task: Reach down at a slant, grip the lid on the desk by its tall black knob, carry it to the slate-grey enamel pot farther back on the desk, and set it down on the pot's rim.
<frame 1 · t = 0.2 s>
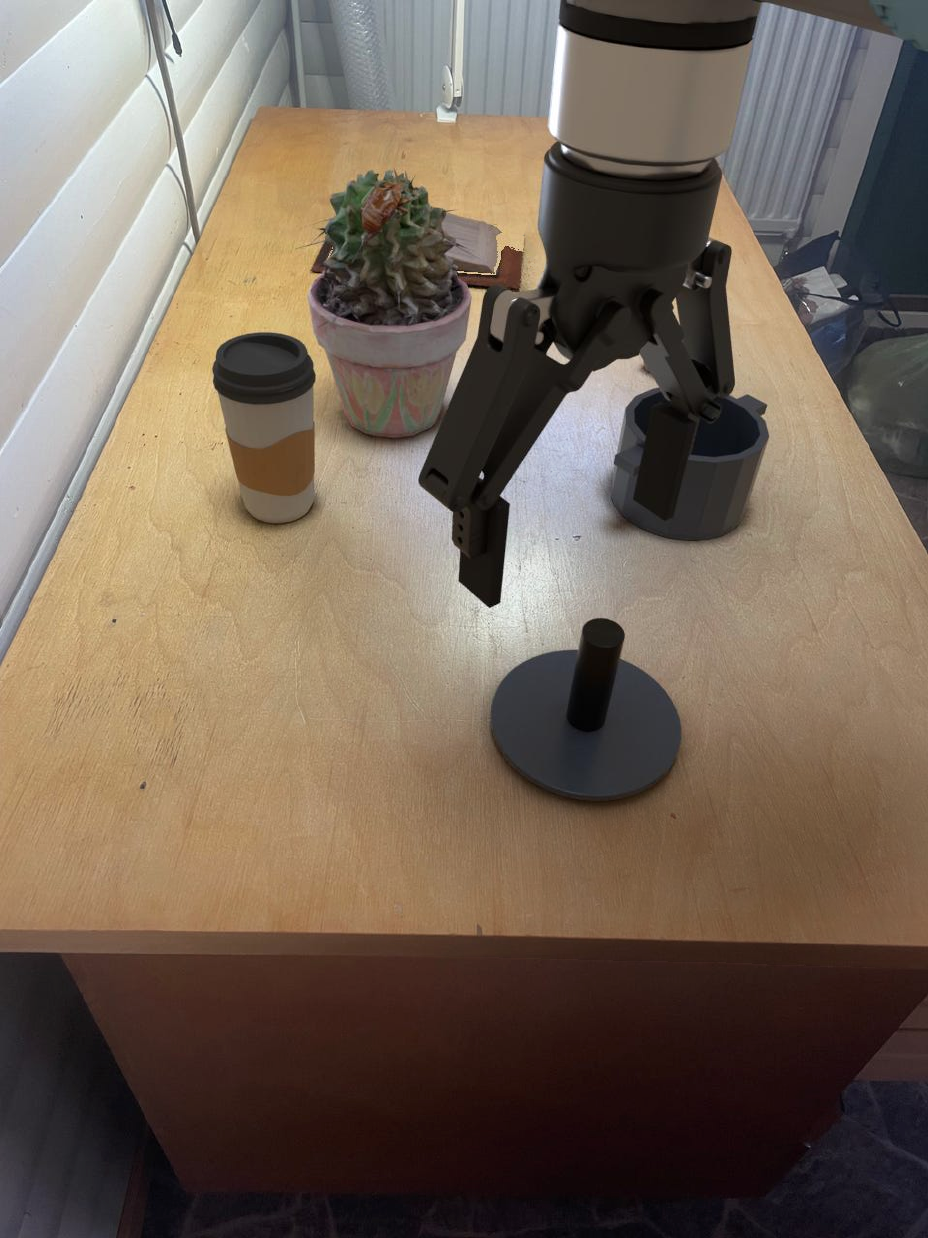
hand: (571, 548, 53), 18 cm above the table, tool pointing down, fingers open, 13 cm apart
potted plant: (389, 410, 97), on the table
pot: (676, 499, 87), on the table
lid: (584, 722, 66), point 1 cm above the table
coffee cup: (279, 505, 84), on the table
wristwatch: (664, 377, 105), on the table
book: (422, 255, 127), on the table
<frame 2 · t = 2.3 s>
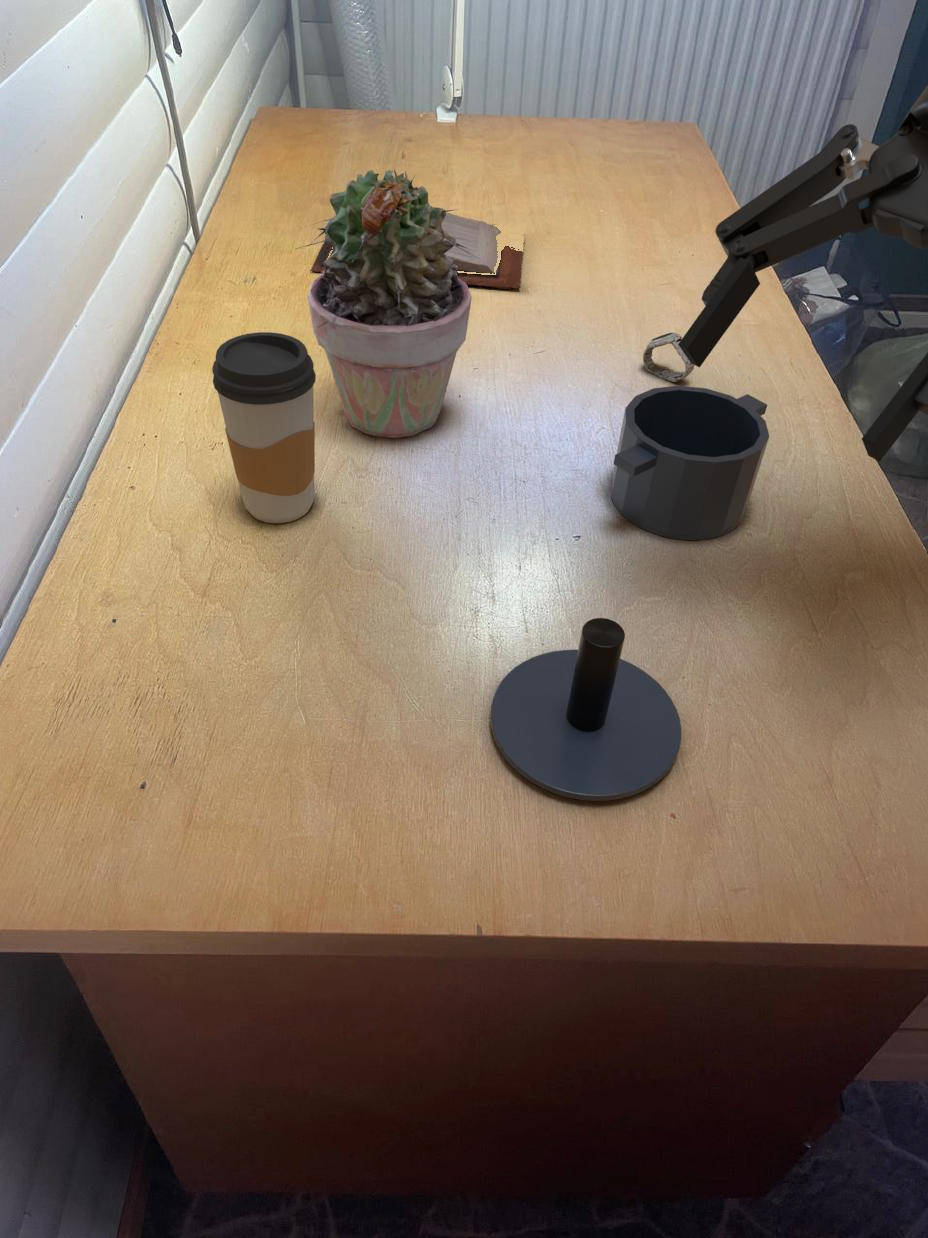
hand: (773, 400, 56), 23 cm above the table, tool tilted 45°, fingers open, 13 cm apart
nothing on the table moved.
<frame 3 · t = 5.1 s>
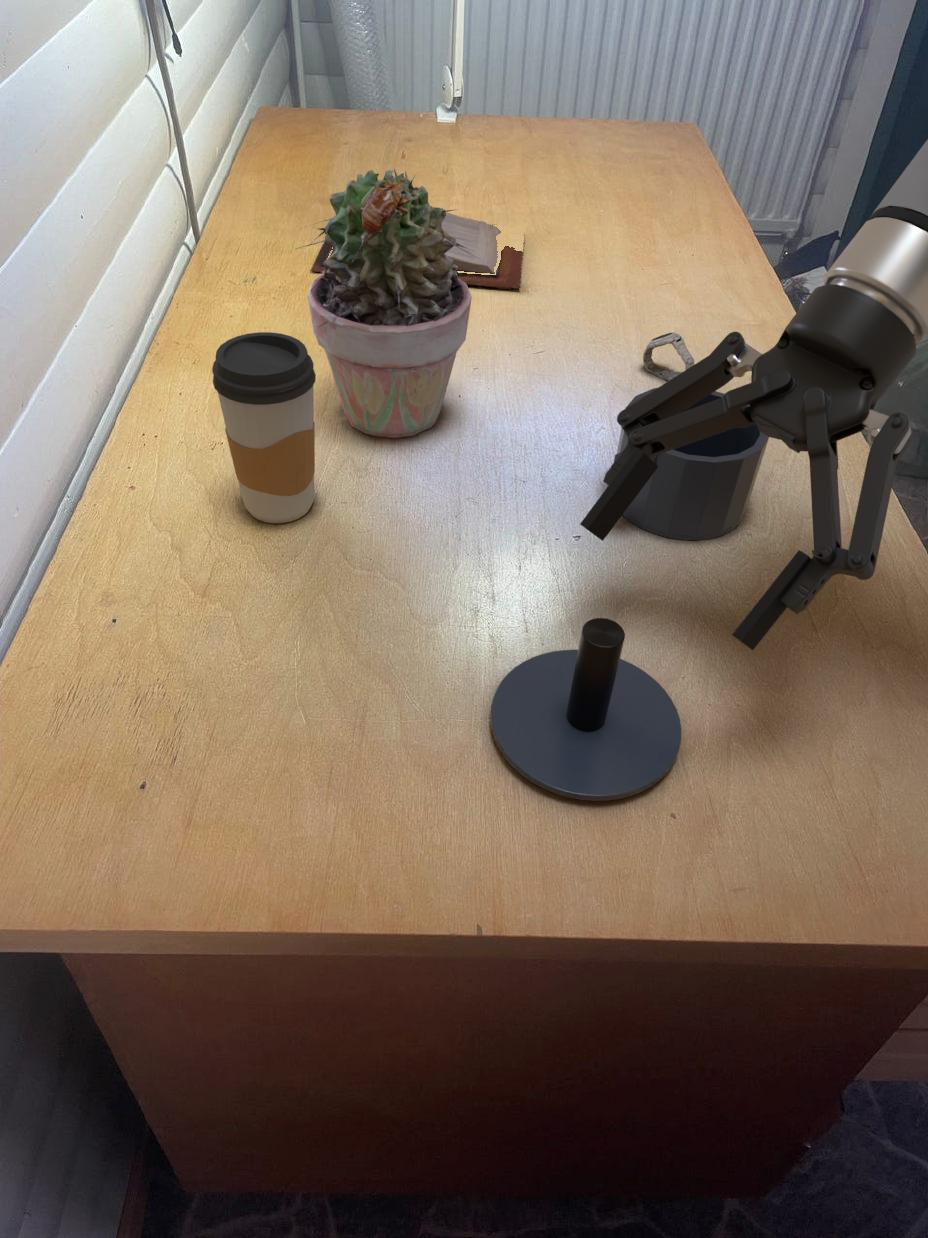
hand: (661, 585, 61), 11 cm above the table, tool tilted 45°, fingers open, 13 cm apart
nothing on the table moved.
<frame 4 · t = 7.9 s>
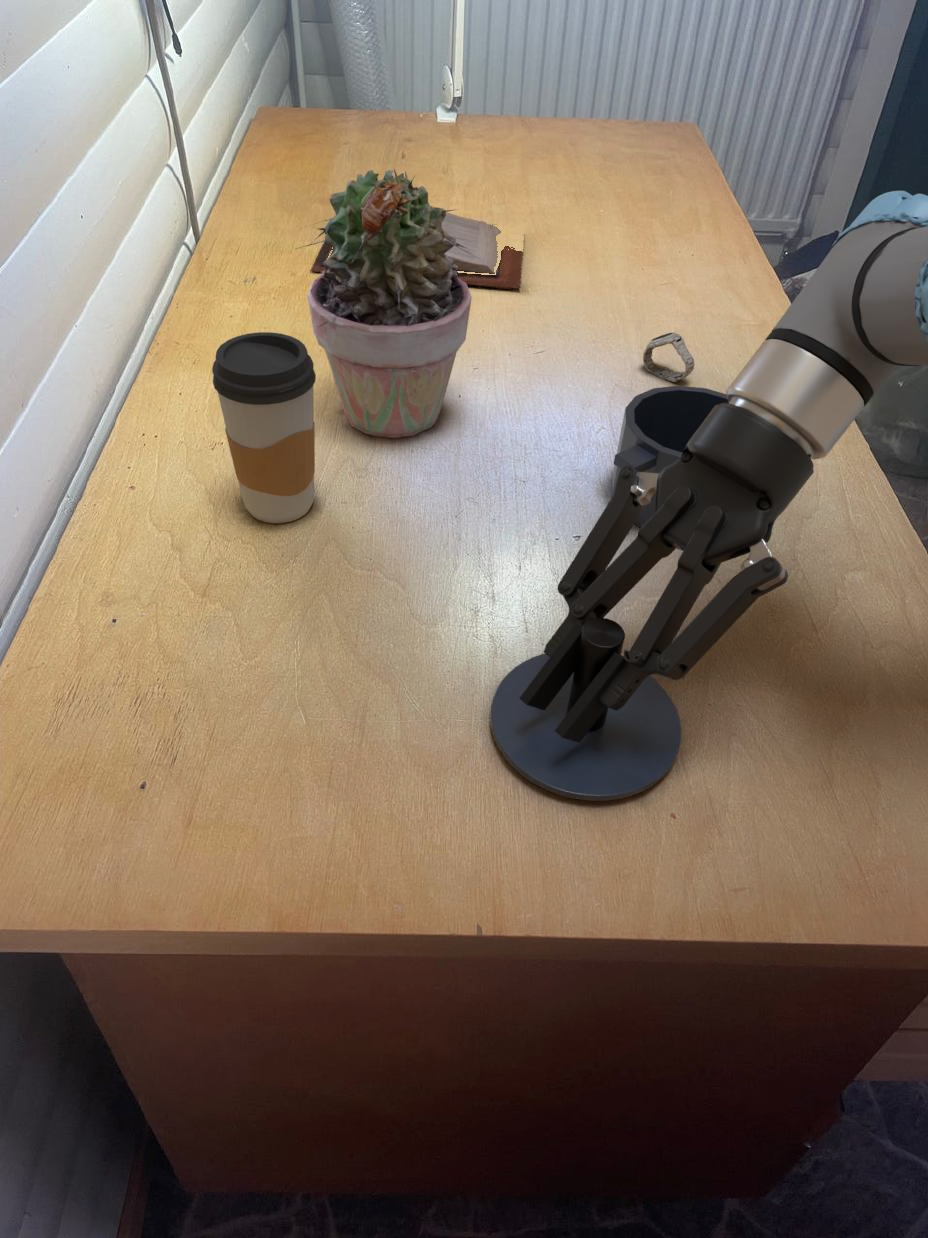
hand: (549, 719, 62), 4 cm above the table, tool tilted 45°, fingers closed on lid, 3 cm apart
lid: (584, 722, 66), point 1 cm above the table, touching gripper
everything else where it was.
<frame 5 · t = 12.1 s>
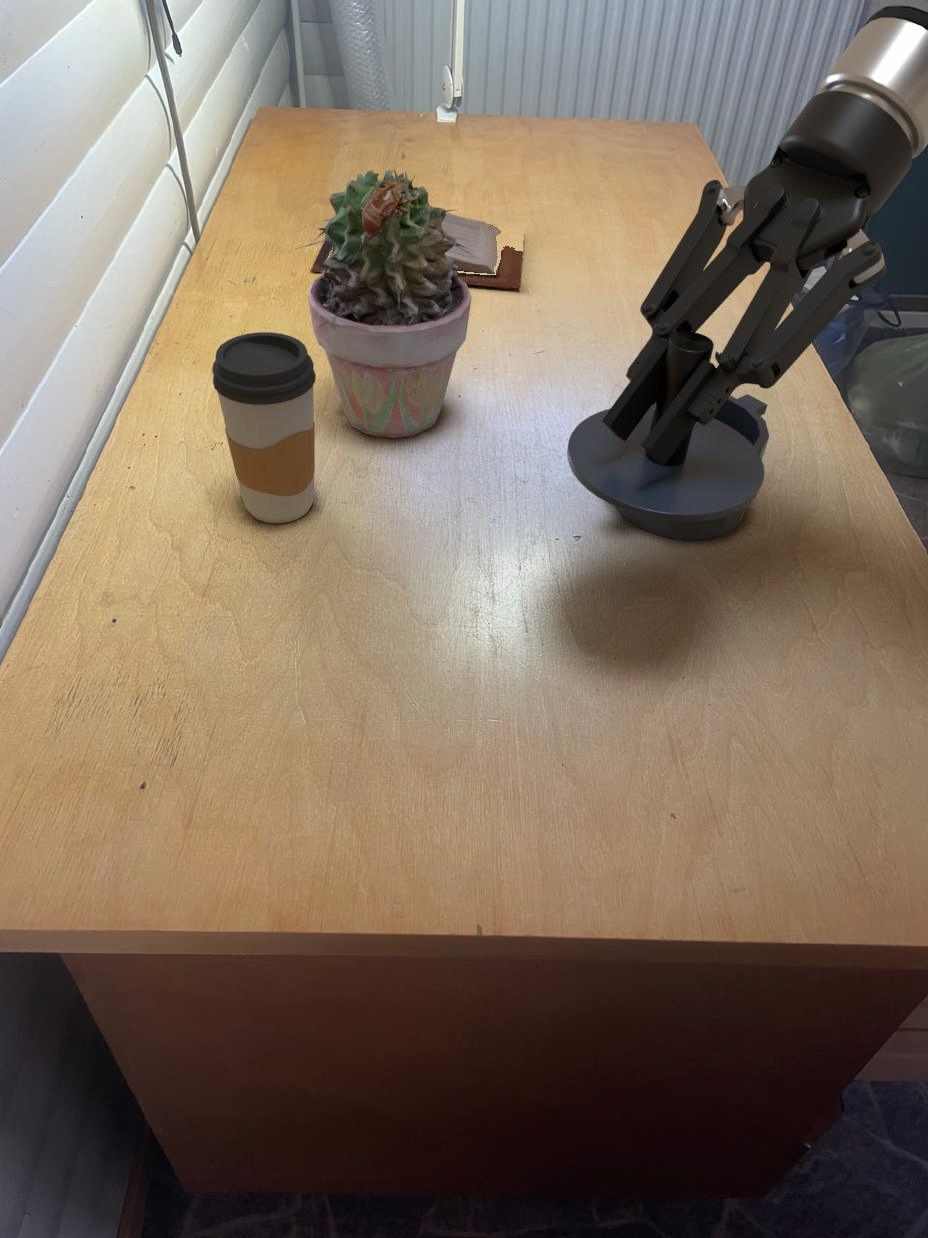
hand: (633, 442, 60), 18 cm above the table, tool tilted 45°, fingers closed on lid, 3 cm apart
lid: (663, 462, 64), point 15 cm above the table, touching gripper
everything else where it was.
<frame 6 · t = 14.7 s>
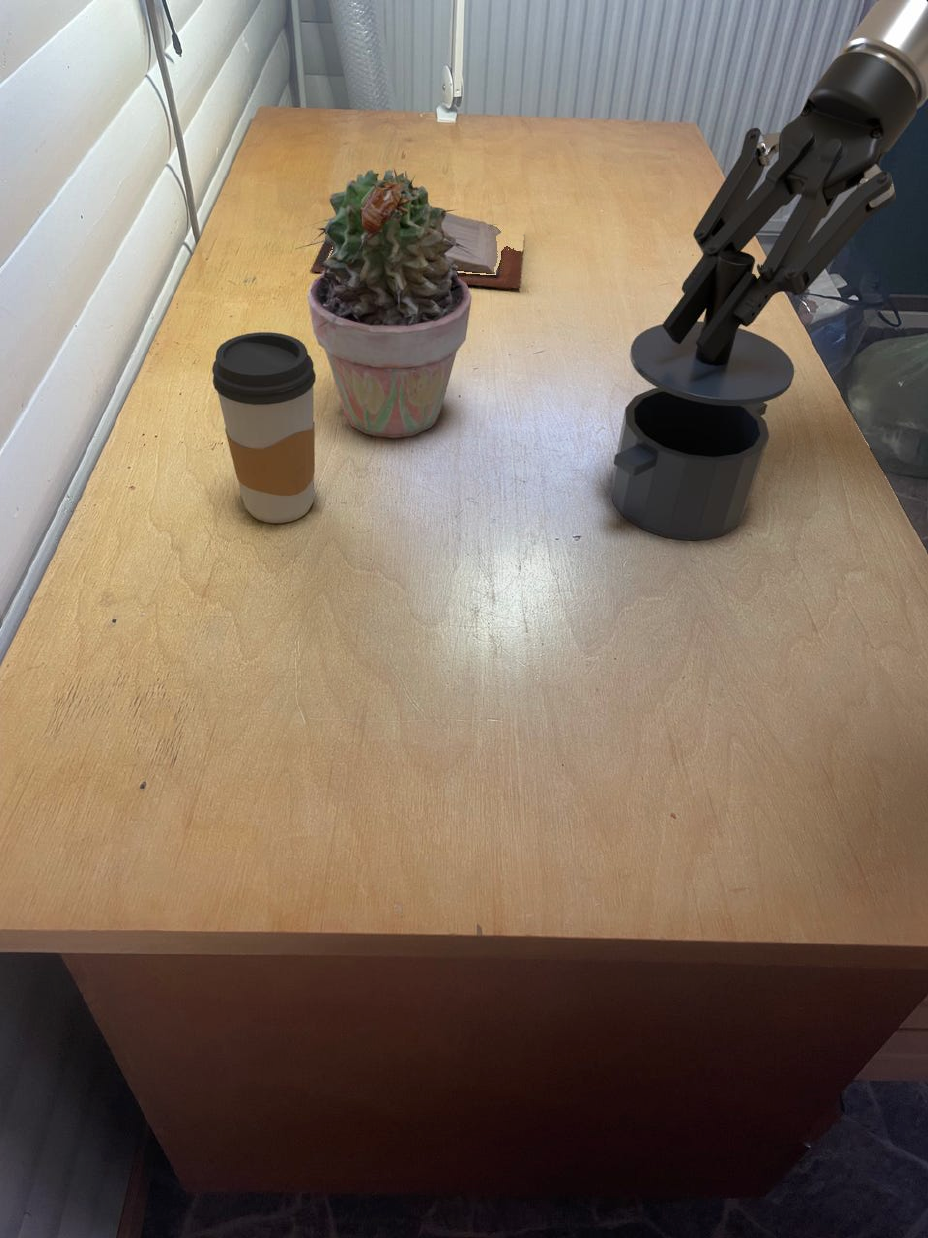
hand: (687, 342, 73), 17 cm above the table, tool tilted 45°, fingers closed on lid, 3 cm apart
lid: (710, 364, 77), point 14 cm above the table, touching gripper
everything else where it was.
when the fingers open (12 cm above the table, at t = 16.5 s): lid stays where it is, resting on pot.
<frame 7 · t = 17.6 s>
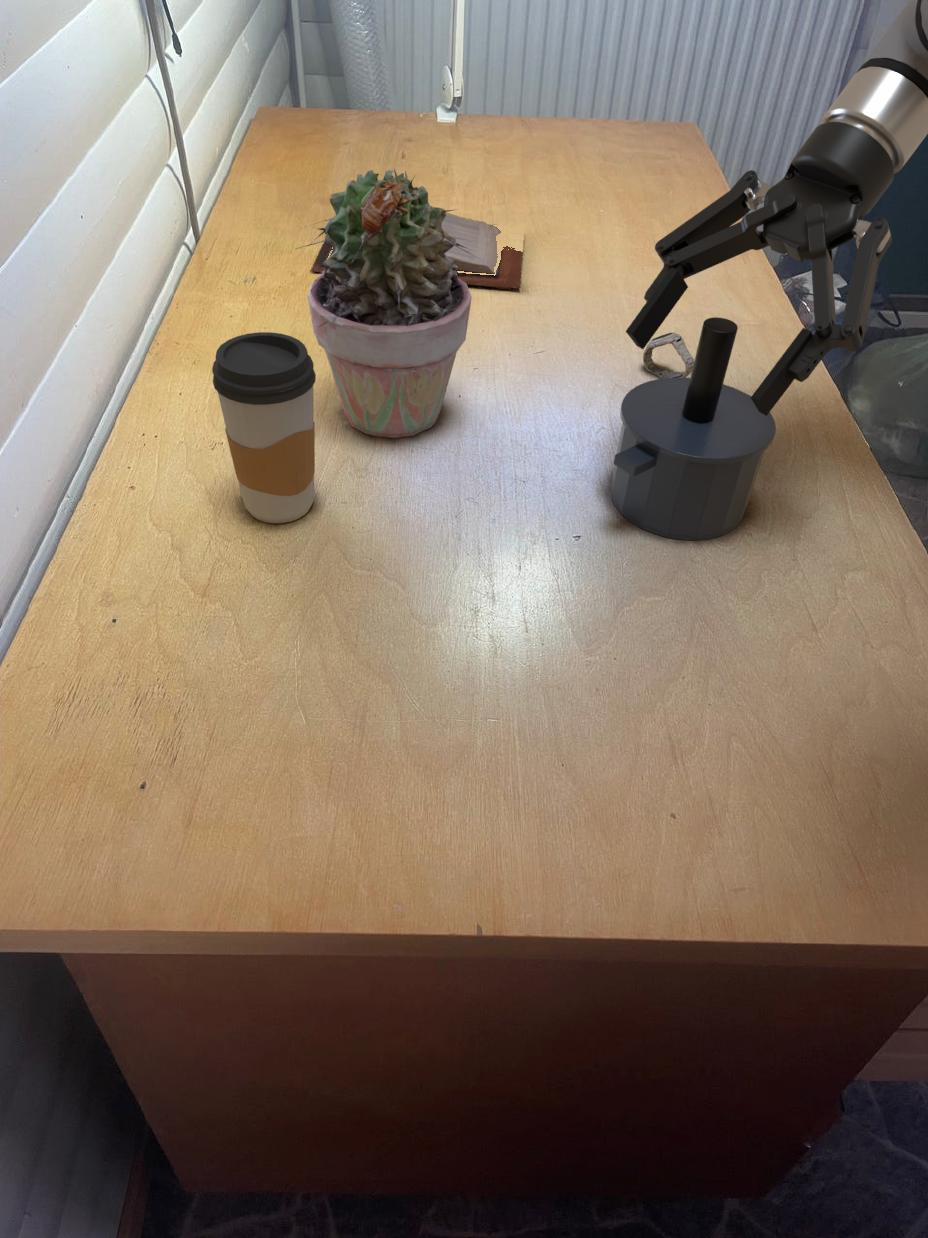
hand: (693, 372, 76), 14 cm above the table, tool tilted 45°, fingers open, 13 cm apart
lid: (696, 421, 81), point 8 cm above the table, touching pot
everything else where it was.
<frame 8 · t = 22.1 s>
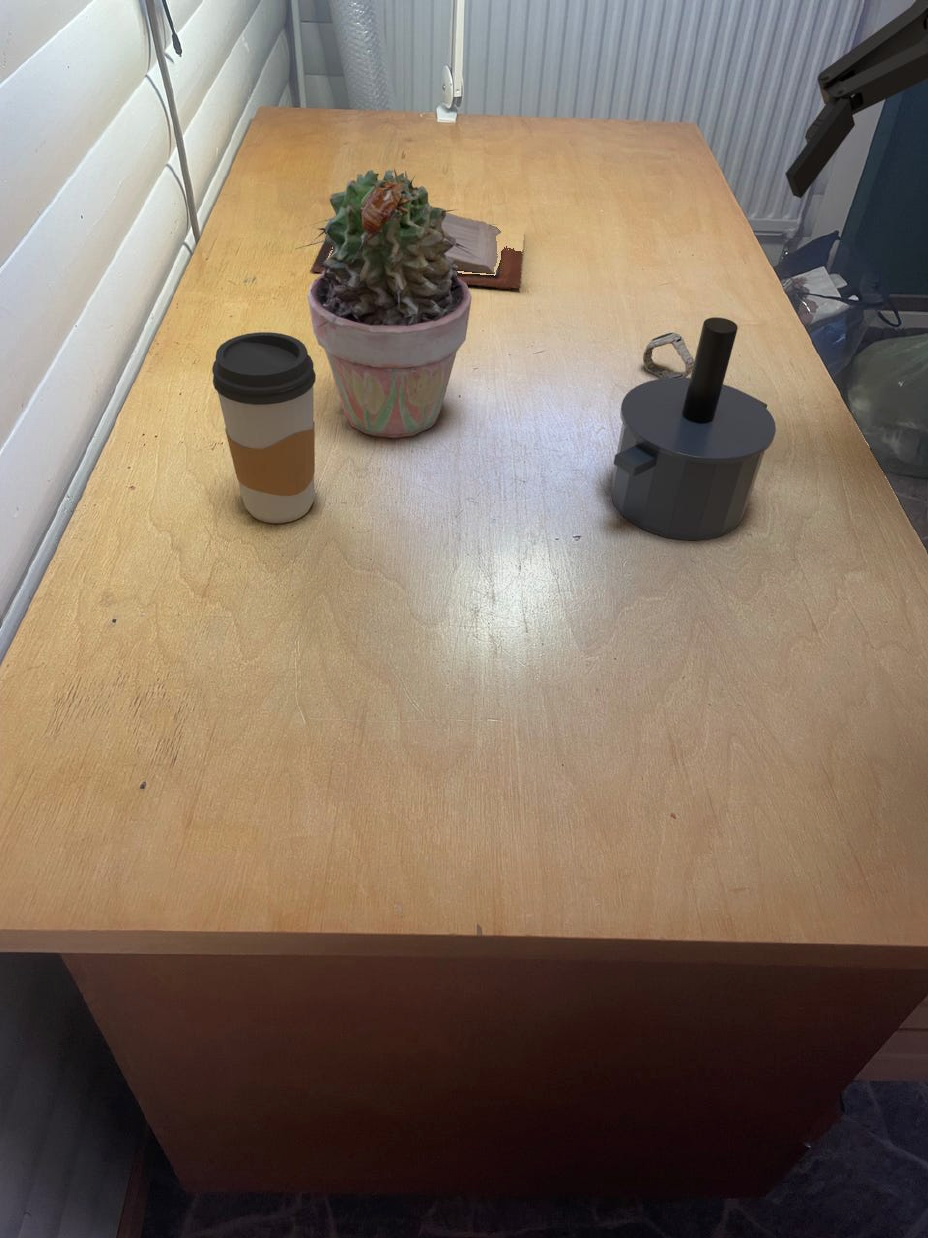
hand: (869, 214, 66), 28 cm above the table, tool tilted 45°, fingers open, 13 cm apart
nothing on the table moved.
at the end: lid 0.0 cm off-centre on the pot, point 8.5 cm above the pot's base; lid tilted 0° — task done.
